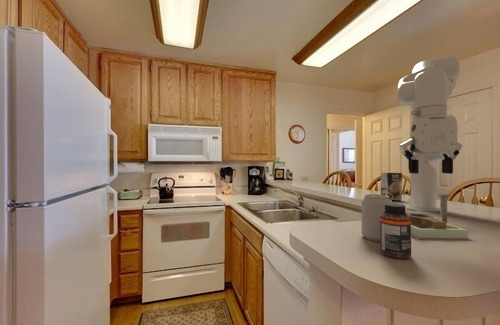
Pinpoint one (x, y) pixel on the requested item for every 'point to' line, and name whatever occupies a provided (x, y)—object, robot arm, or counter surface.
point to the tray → (440, 232)
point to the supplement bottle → (395, 231)
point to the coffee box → (391, 185)
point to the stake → (444, 211)
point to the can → (373, 215)
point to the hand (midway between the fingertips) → (430, 173)
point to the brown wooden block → (426, 221)
